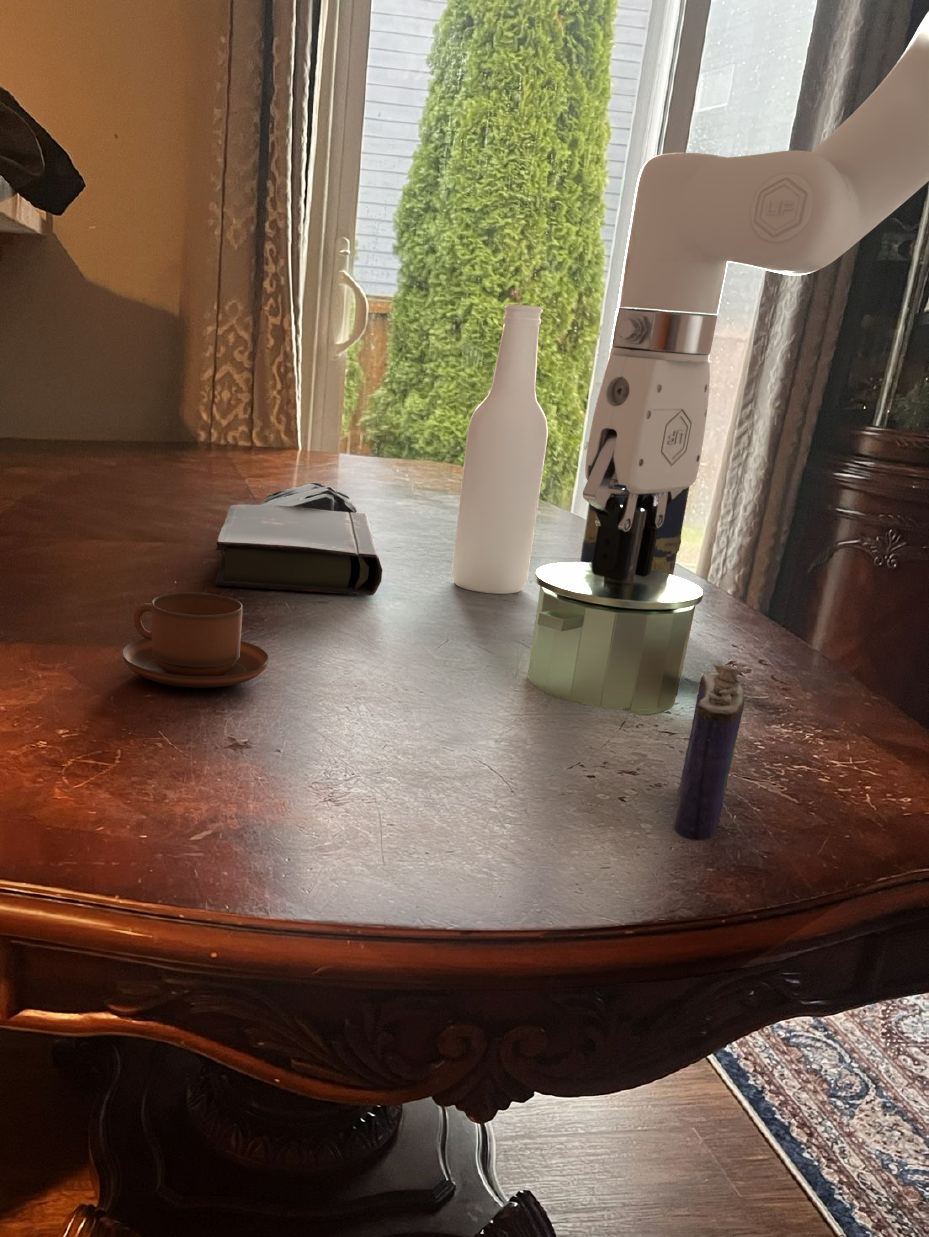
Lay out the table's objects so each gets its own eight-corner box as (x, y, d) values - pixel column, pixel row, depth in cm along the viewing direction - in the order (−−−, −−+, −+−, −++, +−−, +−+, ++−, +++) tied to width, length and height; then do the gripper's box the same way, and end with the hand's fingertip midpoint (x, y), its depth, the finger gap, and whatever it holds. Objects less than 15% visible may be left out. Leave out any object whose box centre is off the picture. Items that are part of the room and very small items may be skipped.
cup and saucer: (103, 690, 92) (102, 613, 90) (145, 649, 103) (145, 580, 101) (252, 707, 91) (255, 630, 89) (278, 663, 102) (282, 594, 100)
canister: (673, 643, 118) (709, 459, 111) (580, 636, 118) (610, 451, 110) (648, 618, 127) (680, 446, 119) (561, 612, 126) (588, 439, 119)
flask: (675, 791, 81) (707, 642, 77) (719, 799, 80) (754, 649, 76) (668, 844, 73) (703, 681, 69) (717, 853, 72) (755, 689, 68)
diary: (368, 551, 149) (371, 511, 147) (380, 598, 126) (384, 552, 124) (222, 541, 148) (223, 500, 146) (207, 587, 125) (208, 540, 123)
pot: (718, 693, 103) (739, 598, 100) (600, 732, 92) (619, 626, 88) (599, 656, 111) (615, 568, 108) (477, 687, 100) (490, 589, 96)
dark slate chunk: (361, 509, 177) (363, 477, 175) (363, 537, 157) (366, 501, 155) (260, 501, 177) (261, 469, 175) (249, 528, 157) (250, 492, 155)
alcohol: (507, 576, 141) (544, 306, 129) (538, 595, 133) (580, 309, 121) (439, 576, 138) (469, 301, 126) (466, 594, 131) (501, 303, 119)
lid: (731, 604, 98) (750, 517, 95) (640, 625, 89) (658, 530, 86) (595, 569, 107) (609, 489, 104) (500, 585, 98) (511, 498, 95)
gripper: (645, 339, 82) (601, 596, 90) (758, 345, 93) (710, 575, 100) (559, 330, 87) (524, 575, 95) (676, 337, 98) (636, 557, 105)
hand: (620, 573), depth 97 cm, fingers closed on lid, 2 cm apart
